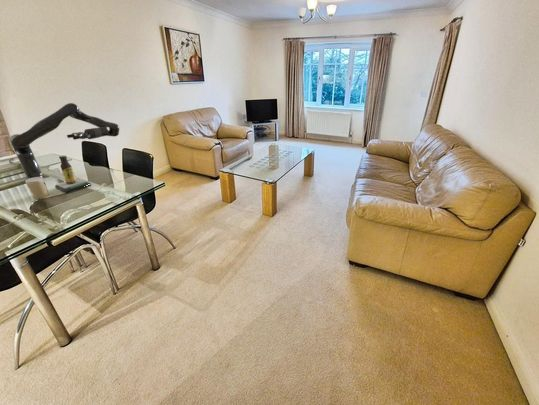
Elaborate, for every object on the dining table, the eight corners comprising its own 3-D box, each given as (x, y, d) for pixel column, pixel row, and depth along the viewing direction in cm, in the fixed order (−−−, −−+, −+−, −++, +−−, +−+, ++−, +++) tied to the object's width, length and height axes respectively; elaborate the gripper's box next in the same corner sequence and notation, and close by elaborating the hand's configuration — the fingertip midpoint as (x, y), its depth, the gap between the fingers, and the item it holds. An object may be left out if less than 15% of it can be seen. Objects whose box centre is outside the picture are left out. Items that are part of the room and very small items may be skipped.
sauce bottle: (71, 184, 178) (61, 157, 169) (64, 184, 179) (53, 157, 170) (79, 181, 184) (69, 155, 174) (72, 180, 185) (62, 154, 176)
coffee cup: (53, 194, 171) (46, 177, 166) (38, 199, 164) (30, 182, 158) (44, 191, 174) (37, 175, 168) (29, 197, 166) (21, 180, 161)
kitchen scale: (55, 188, 179) (54, 184, 178) (80, 181, 192) (78, 177, 190) (66, 193, 172) (65, 189, 171) (91, 185, 185) (90, 181, 183)
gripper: (87, 127, 196) (63, 130, 184) (97, 129, 190) (73, 133, 178) (90, 137, 200) (67, 141, 187) (100, 139, 193) (76, 143, 181)
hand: (70, 137), depth 182 cm, fingers open, 8 cm apart
